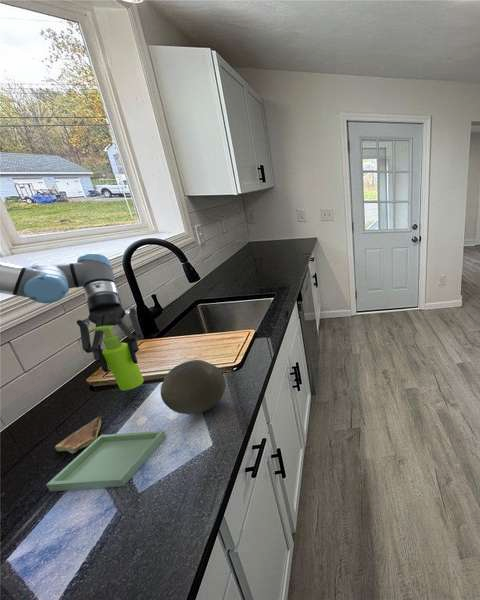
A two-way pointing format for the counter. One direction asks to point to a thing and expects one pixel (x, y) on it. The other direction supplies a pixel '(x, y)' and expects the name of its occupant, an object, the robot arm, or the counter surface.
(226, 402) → the counter surface
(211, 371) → the dark grey rounded lump
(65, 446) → the shard
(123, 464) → the green tray
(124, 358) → the soap dispenser
